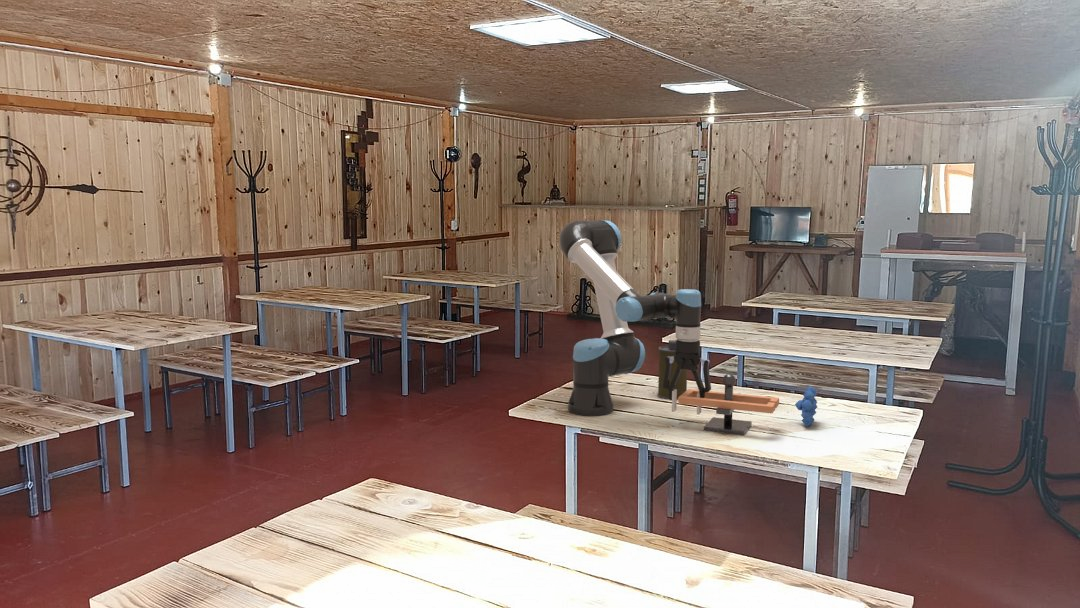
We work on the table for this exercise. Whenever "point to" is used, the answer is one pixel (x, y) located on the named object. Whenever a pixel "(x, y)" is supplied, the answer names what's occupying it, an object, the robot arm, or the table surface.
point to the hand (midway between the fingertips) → (686, 411)
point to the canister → (682, 380)
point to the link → (738, 402)
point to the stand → (728, 414)
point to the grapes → (808, 406)
